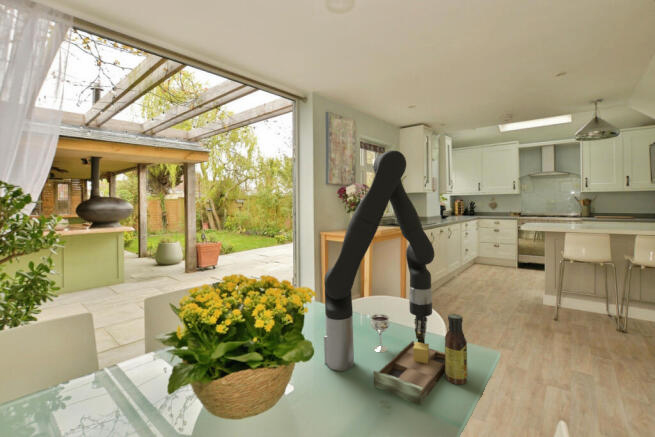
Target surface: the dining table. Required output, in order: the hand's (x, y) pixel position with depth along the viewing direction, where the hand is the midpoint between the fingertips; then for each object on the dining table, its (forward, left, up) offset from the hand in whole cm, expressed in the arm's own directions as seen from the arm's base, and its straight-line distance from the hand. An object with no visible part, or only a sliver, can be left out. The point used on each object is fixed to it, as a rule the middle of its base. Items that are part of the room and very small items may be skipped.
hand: (421, 348), depth 106 cm
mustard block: (+2, -4, -2) cm, 5 cm away
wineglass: (-15, -3, -4) cm, 15 cm away
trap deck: (+2, -10, -4) cm, 11 cm away
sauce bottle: (+13, -6, -4) cm, 15 cm away
